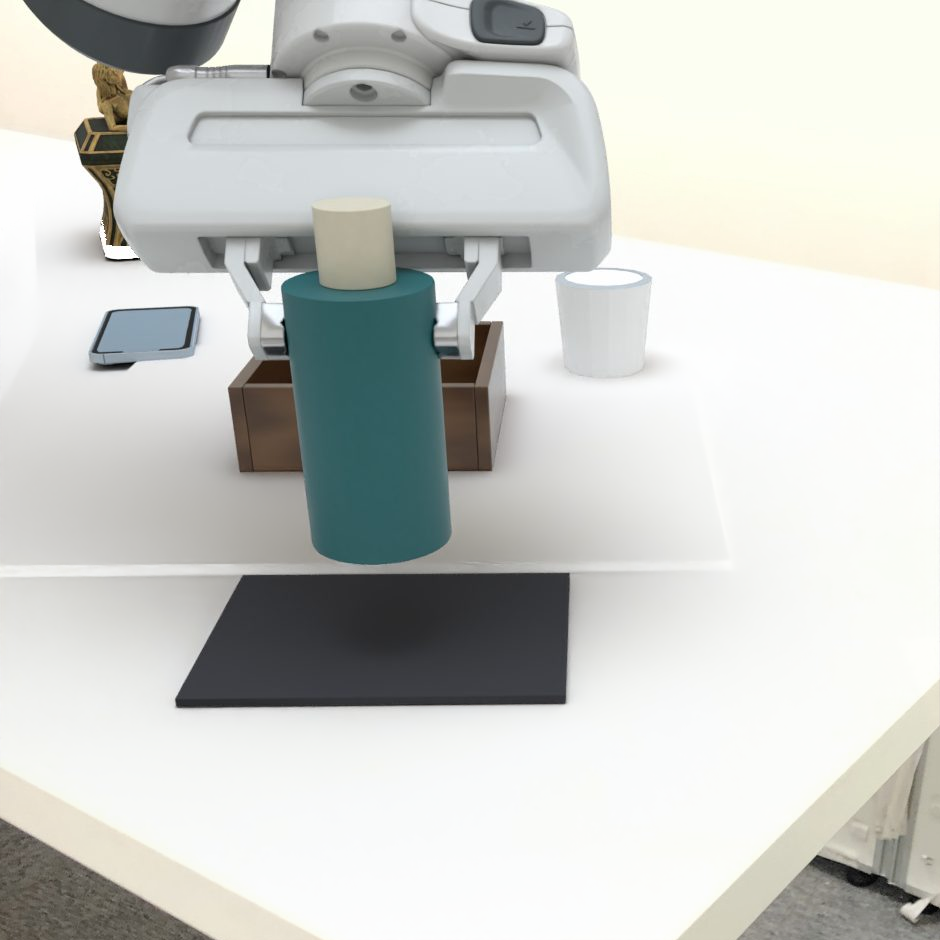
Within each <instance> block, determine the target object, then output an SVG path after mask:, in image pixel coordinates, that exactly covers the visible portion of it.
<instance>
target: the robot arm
mask: <svg viewBox="0 0 940 940" xmlns="http://www.w3.org/2000/svg"><path fill="white" fill-rule="evenodd" d="M22 1H23V3H24V4H25V5H26V7H27V8H28V9H29V10H30V11H31V13H32V14H33V15H34V16H35V17H36V19H38V21H39V22H40V23H41V24H42V25H43V27H45V28H46V29H47V30H48V31H49V32H51V34H53V35H54V36H55V37H56V38H57V39H58V40H60V42H63V43H64V44H65V45H66V46H67V47H69V48H71V49H72V50H74V51H76V52H77V53H78V54H80V55H82V56H83V57H86V58H87V59H89V60H91V61H93V62H96V63H97V62H98V63H101V64H103V65H105V66H108V67H111V68H115V69H118V70H122V71H124V72H127V73H132V74H139V75H150V76H154V77H152V78H150V79H148V80H146V81H144V82H143V83H142V84H139V85H137V86H135V88H134V89H133V90H132V91H133V92H132V94H131V97H130V103H129V112H128V120H127V136H128V141H127V144H126V147H125V150H124V154H123V158H122V162H121V165H120V170H119V174H118V179H117V184H116V189H115V195H114V202H113V211H114V216H115V219H116V222H117V224H118V227H119V229H120V231H121V233H122V235H123V236H124V238H125V240H126V241H127V243H128V245H129V246H130V247H131V249H132V250H133V251H134V253H135V254H136V255H137V256H138V257H139V258H140V259H139V260H140V261H141V262H142V263H143V264H144V265H145V266H146V268H148V269H149V271H150V270H151V271H152V272H155V273H157V274H229V276H230V278H231V280H232V283H233V285H234V286H235V289H236V291H237V293H238V295H239V296H240V298H241V300H242V302H243V303H244V305H245V307H246V308H247V311H248V320H247V333H246V336H247V337H246V338H247V343H248V348H249V350H250V352H251V353H252V357H253V356H254V358H255V360H290V359H289V351H288V343H287V334H286V326H285V318H284V310H283V302H267V301H266V299H265V297H264V296H263V295H262V292H269V291H270V290H271V289H272V284H273V274H274V273H275V274H283V273H285V274H286V273H287V274H288V273H289V274H290V273H291V274H293V273H295V274H296V273H298V274H303V273H307V272H311V271H316V270H318V263H317V253H316V244H315V235H314V225H313V216H312V207H311V206H312V204H313V203H315V202H317V201H321V200H325V199H332V198H342V197H371V198H379V199H384V200H387V201H389V202H390V204H391V217H392V229H393V242H394V254H395V266H396V267H401V268H408V269H413V270H417V271H421V272H424V273H466V278H467V281H466V282H465V284H464V285H463V288H461V291H460V292H459V293H458V295H457V297H456V298H455V300H454V301H449V302H448V301H447V302H443V301H442V302H436V305H435V316H434V318H435V321H436V325H435V326H434V346H435V350H436V351H437V356H438V359H457V360H461V359H462V360H469V359H473V358H474V337H475V325H478V324H479V322H480V321H482V319H483V318H484V317H485V316H486V314H487V313H488V311H489V310H490V308H491V307H492V305H493V304H494V303H495V302H496V300H497V298H498V297H499V296H500V294H501V293H502V292H503V273H564V272H590V271H593V270H594V269H596V268H599V266H600V265H601V263H602V262H603V261H604V260H605V259H606V258H607V257H608V255H609V254H610V253H611V251H612V241H613V240H612V238H613V229H612V228H613V226H612V224H613V222H612V219H613V218H612V194H611V193H612V192H611V181H610V171H609V162H608V155H607V149H606V141H605V136H604V132H603V127H602V123H601V118H600V114H599V109H598V106H597V104H596V101H595V99H594V97H593V95H592V93H591V91H590V89H589V88H588V86H587V84H585V82H584V81H583V80H582V78H581V65H580V56H579V55H580V54H579V48H578V42H577V37H576V32H575V29H574V24H573V21H572V20H571V17H570V16H568V15H567V14H566V13H565V12H564V11H561V10H558V9H556V8H553V7H550V6H546V5H542V4H540V3H534V2H531V1H527V0H275V1H274V13H273V27H272V40H271V41H272V42H271V53H270V64H228V65H222V66H221V65H220V66H209V67H208V66H204V65H205V64H206V63H208V62H209V61H211V60H212V59H213V58H214V57H215V56H216V55H217V53H218V52H219V51H220V49H221V47H222V46H223V44H224V42H225V40H226V37H227V35H228V32H229V30H230V28H231V25H232V23H233V20H234V18H235V15H236V13H237V12H238V8H239V6H240V3H241V1H242V0H22Z"/></svg>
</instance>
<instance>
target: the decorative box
mask: <svg viewBox="0 0 940 940" xmlns="http://www.w3.org/2000/svg"><path fill="white" fill-rule="evenodd" d="M124 73H125V71H122V70H118V69H115V68H111V67H108V66H105V65H103V64H101V63H98V62H96V63H94V64H93V66H92V67H91V76H92V80H93V83H94V85H95V86H96V92H95V95H96V106H97V108H98V112H99V113H100V114H101V115H103V116H93V117H92V116H91V117H86V118H84V119H83V120H82V121H81V123H80V124H79V125H78V127H77V128H76V130H75V131H74V132H73V136H74V137H73V138H74V142H75V146H76V150H77V153H78V156H79V160H80V161H79V162H80V164H81V166H82V167H83V168H84V169H85V171H87V173H88V174H89V175H90V176H91V177H92V178H93V179H94V180H95V182H96V183H97V184H98V185H99V187H100V189H101V190H102V198H103V210H102V215H101V220H103V221H102V222H103V224H104V225H103V226H104V230H105V232H104V233H105V234H106V237H105V238H106V239H107V240H106V245H112V246H129V245H128V243H127V241H126V240H125V238H124V236H123V235H122V233H121V231H120V229H119V227H118V224H117V222H116V219H115V216H114V211H113V202H114V195H115V189H116V184H117V179H118V174H119V170H120V165H121V162H122V158H123V154H124V150H125V147H126V144H127V141H128V136H127V120H128V112H129V103H130V97H131V94H132V92H133V90H132V89H129V87H128V83H127V80H126V77H125V74H124Z"/></svg>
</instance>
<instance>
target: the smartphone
mask: <svg viewBox="0 0 940 940" xmlns="http://www.w3.org/2000/svg"><path fill="white" fill-rule="evenodd" d="M199 317H200V318H201V314H200V307H198V306H196V305H178V306H177V305H175V306H174V305H173V306H154V307H134V308H133V307H132V308H116V309H110V310H107V311H105V313H104V315H103V317H102V319H101V321H100V324H99V326H98V329H97V331H96V332H95V336H94V338H93V340H92V343H91V345H90V348H89V350H88V351H87V352H88V357H89V361H90V363H93V364H99V365H101V366H112V365H116V364H126V363H127V364H128V363H135V362H146V361H147V362H148V361H149V362H150V361H166V360H179V359H180V360H181V359H187V358H191V357H193V356H194V355H195V350H196V345H197V338H198V332H199V324H200V319H199Z"/></svg>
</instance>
